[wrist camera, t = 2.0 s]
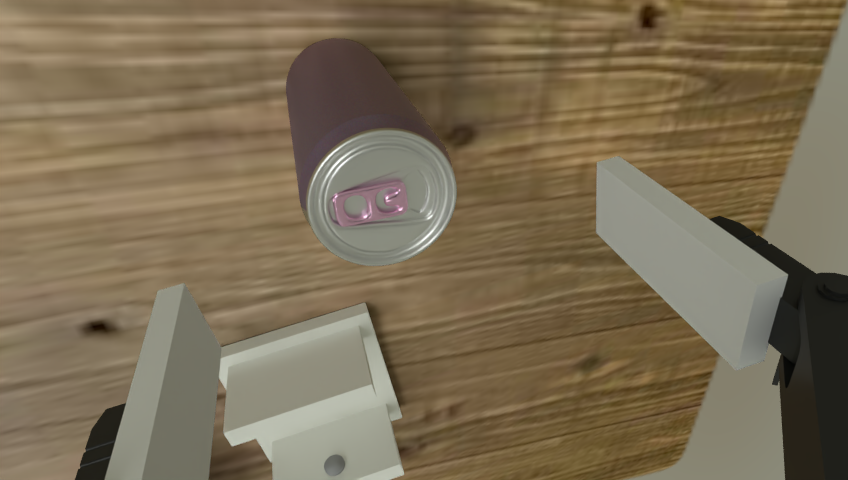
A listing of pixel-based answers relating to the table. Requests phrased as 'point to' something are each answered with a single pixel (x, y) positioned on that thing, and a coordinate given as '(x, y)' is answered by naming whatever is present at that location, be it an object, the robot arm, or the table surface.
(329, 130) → the beverage can
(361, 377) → the holder
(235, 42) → the table surface
